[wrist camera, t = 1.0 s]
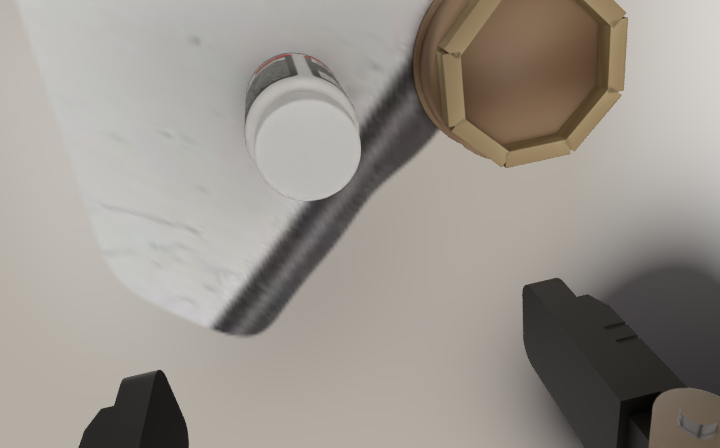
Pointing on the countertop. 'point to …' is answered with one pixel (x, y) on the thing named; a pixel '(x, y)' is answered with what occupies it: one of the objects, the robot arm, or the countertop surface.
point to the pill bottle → (301, 128)
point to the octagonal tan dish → (520, 73)
